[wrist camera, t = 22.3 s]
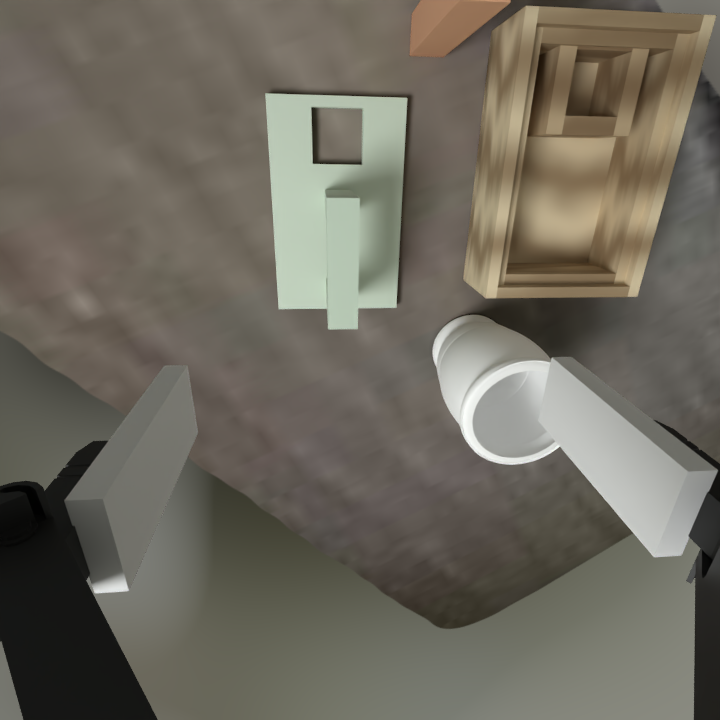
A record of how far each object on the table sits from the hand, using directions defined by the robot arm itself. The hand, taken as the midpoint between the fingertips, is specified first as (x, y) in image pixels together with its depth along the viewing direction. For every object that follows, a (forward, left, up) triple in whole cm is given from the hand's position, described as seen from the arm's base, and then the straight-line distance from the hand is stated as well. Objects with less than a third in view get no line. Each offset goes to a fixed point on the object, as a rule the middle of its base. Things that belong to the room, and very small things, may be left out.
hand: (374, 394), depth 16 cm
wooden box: (-7, +21, -32) cm, 39 cm away
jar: (+12, +15, -32) cm, 37 cm away
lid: (-3, 0, -32) cm, 32 cm away
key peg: (-18, +8, -32) cm, 37 cm away
